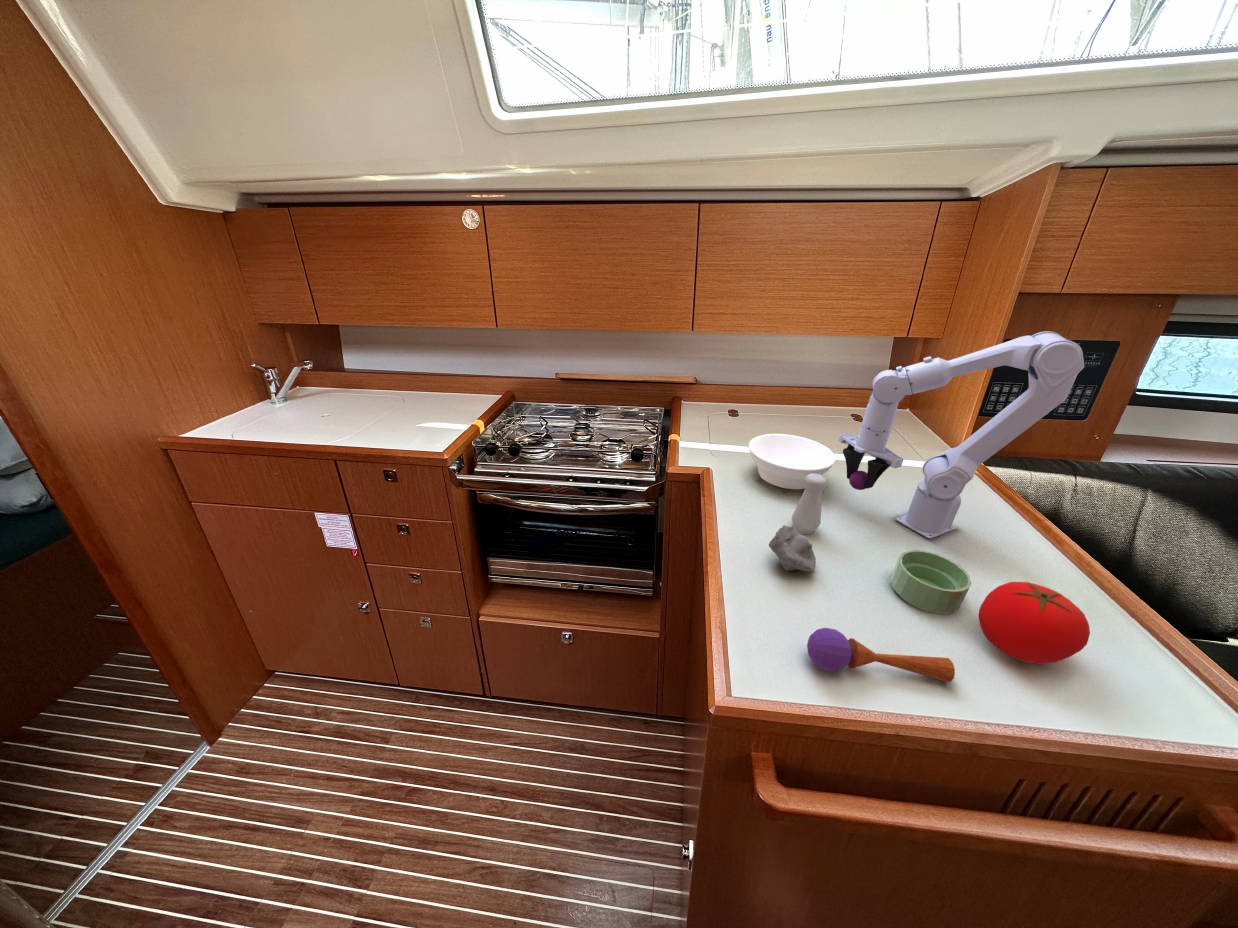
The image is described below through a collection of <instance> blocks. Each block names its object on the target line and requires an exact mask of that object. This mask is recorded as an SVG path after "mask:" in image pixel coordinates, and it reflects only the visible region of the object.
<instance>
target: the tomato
mask: <svg viewBox="0 0 1238 928" xmlns="http://www.w3.org/2000/svg"><path fill="white" fill-rule="evenodd" d="M978 621H979V622H978V623H979V627H980V629H981V631H982V634H983V635H984V637H985V638H986V639H987V640H988V641H989V642H990V644H992V645H993V646H994V647H996V648H997V649H998V650H999V651H1000V652H1002V653H1004V654H1005V655H1006V656H1009V657H1011V658H1014V659H1016V660H1019V661H1022V662H1026V663H1031V664H1036V665H1037V664H1039V665H1040V664H1048V663H1049V664H1051V663H1057V662H1060V661H1064V660H1066V659H1068V658H1070V657H1073V656H1074V655H1075V654H1078V653H1080V652H1081V651H1082V650H1083V649H1084V648H1085V647H1086V646H1087V644H1088V642H1089V638H1090V634H1091V631H1090V624H1089V621H1088V619H1087V617H1086V615H1085V613H1084V612H1083V611H1082V610H1081V608H1079V607H1078V606H1077V605H1076V604H1075V603H1073V601H1071V600H1070V599H1069V598H1067V597H1066V596H1064V595H1063V593H1061V592H1058V591H1056V590H1054V589H1051V588H1049V587H1046V586H1044V585H1040V584H1037V583H1033V582H1030V581H1009V582H1006V583H1003V584H1001V585H1000V584H999V585H998V586H996V587H994V589H992V590H991V591H990V592H989V593H988V594H987V595H986V596H985V598H984V599H983V601H982V603H981V604H980V606H979V610H978Z"/></svg>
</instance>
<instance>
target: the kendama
mask: <svg viewBox="0 0 1238 928" xmlns="http://www.w3.org/2000/svg"><path fill="white" fill-rule="evenodd" d="M806 648H807V655H808V657H809V658H810V659H811V661H812V662H813V663H814V665H815V666H816V667H818V668H820V669H821V670H824V671H827V672H835V673H836V672H839V671H842V670H844V669H845V668H846V667H847V666H848V668H849V669H856V668H859V667H863V666H866V665H869V664H872V663H880V664H884V665H887V666H890V667H894V668H897V669H901V670H904V671H907V672H911V673H915V674H918V675H922V676H924V677H928V678H932V679H934V680H935V679H936V680H939V681H943V682H946V683H952V681H953V680H954V678H955V675H956V670H955V665H954V663H953V661H952V660H951V659H950V658H949V657H942V656H941V657H939V656H925V655H924V656H923V655H907V654H906V655H904V654H891V653H890V654H889V653H876V652H875V651H873V650H871V649H869V648H868V647H867V646H865V645H864V644H863V643H861V642H859V641H857V640H856V639H854V638H853V637H850V638H849V639H848V638H847V637H846V635H844V634H843V633H842V632H841V631H839V630H837V629H836V628H830V627H821V628H818V629H816V630H815V631H813V632H812V633H811V634H810V635H809V636H808V639H807V644H806Z"/></svg>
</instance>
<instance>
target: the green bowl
mask: <svg viewBox="0 0 1238 928" xmlns="http://www.w3.org/2000/svg"><path fill="white" fill-rule="evenodd" d="M890 585H891V587H892V589H893V591H894V592H895V593H896V594H897V595H898V596H899V597H900V598H901V599H903V600H904V601H905V602H907V603H908V604H910V605H912V606H914V607H916V608H918V609H920V610H923V611H926V612H928V613H929V612H930V613H932V614H933V613H934V614H940V615H946V614H953V613H955V612H958V611H959V610H960V608H961V606H962V604H963V602H964V601H965V597H966V596H967V593H968V592H969V590H970V587H971V586H972V579H971V576H970V575H969V573H968V572H967V570H965V569H964V568H963V567H962V566H961V565H959V564H958V563H956V562H954V561H953V560H951V559H950V558H947V557H945V556H942V555H940V554H938V553H935V552H930V551H927V550H918V549H911V550H906V551H904V552H901V554H900V555H899V556H898V559H897V560H896V563H895V566H894V569H893V571H892V574H891V576H890Z"/></svg>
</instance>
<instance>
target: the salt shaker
mask: <svg viewBox="0 0 1238 928" xmlns="http://www.w3.org/2000/svg"><path fill="white" fill-rule="evenodd" d="M804 483H805V486H806V488H804V491H803V493H802V496H801V497H800V499H799V501H798V503H797V505H796V507H795V509H794V511H793V513H792V515H791V521H792V527H794V528H795V529H796V530H797V531H799V532H800V533H801V534H802V535H811V534H812V533H814V532H815V531H816V530H817V529H818V528H819V527H820V525H821V523H822V522H821V521H822V505H823V504H822V503H823V491H824V490H825V489H826V488H827V487H828V479H827V478H826V476H824V475H820V474H813V473H812V474H809V475H807V476H806V478H805V481H804Z"/></svg>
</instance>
